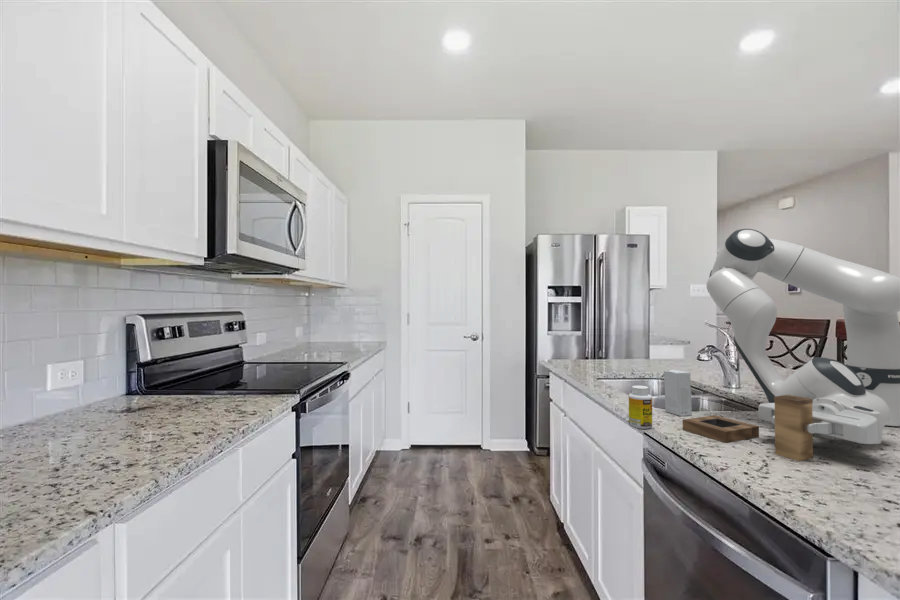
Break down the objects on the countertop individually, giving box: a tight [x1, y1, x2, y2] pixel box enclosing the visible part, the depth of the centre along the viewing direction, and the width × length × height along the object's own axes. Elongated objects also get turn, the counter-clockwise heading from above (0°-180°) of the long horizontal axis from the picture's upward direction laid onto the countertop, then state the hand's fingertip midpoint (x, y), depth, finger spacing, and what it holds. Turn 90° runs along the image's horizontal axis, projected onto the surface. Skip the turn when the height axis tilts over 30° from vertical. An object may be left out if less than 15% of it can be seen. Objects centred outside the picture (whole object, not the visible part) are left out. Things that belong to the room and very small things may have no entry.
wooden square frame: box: [682, 414, 760, 443], centre depth 108 cm, size 11×11×2 cm
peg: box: [774, 395, 814, 462], centre depth 92 cm, size 5×5×12 cm
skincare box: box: [663, 369, 693, 417], centre depth 127 cm, size 6×4×12 cm
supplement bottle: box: [628, 385, 653, 430], centre depth 114 cm, size 6×6×10 cm
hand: (790, 424), depth 91 cm, fingers closed on peg, 4 cm apart
